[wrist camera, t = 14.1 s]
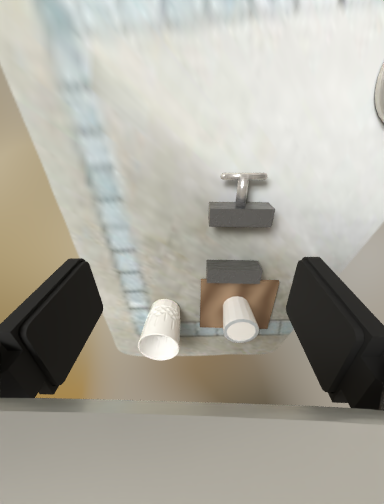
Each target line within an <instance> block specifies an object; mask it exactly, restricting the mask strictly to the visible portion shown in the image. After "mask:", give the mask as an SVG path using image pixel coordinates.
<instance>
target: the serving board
mask: <svg viewBox="0 0 384 504" xmlns="http://www.w3.org/2000/svg"><path fill="white" fill-rule="evenodd" d="M278 286H279V280H260V284H231V283H207V279H201V305H200V327H215V328H223V304H224V302H225V301H226V300H227V299H228V298H231V297H235V296H239V297H243V298H245V299H246V300H247V302H248V303H249V306H250V308H251V310H252V313H253V315H254V317H255V320H256V322H257V324H258V327H259V329H267V328H268V324H269V320H270V316H271V313H272V309H273V305H274V301H275V297H276V294H277V290H278Z"/></svg>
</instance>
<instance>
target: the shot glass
mask: <svg viewBox="0 0 384 504" xmlns="http://www.w3.org/2000/svg"><path fill="white" fill-rule="evenodd" d="M223 332H224V336H225V337H226V338H227V339H228V340H230V341H232V342H236V343H245V342H248V341H251V340H253V339H254V338H255V337H256V336H257V335H258V333H259V327H258V324H257V322H256V320H255V317H254V315H253V313H252V310H251V308H250V306H249V303H248V302H247V300H246V299H245V298H243V297H239V296H235V297H231V298H228V299H227V300H226V301H225V302H224V304H223Z"/></svg>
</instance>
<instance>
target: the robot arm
mask: <svg viewBox="0 0 384 504" xmlns="http://www.w3.org/2000/svg"><path fill="white" fill-rule="evenodd" d="M375 104H376V110H377V112H378V115H379V117H380V118H381V120H382V121H383V123H384V63H383V65H382V68H381V70H380V73H379V76H378V79H377V84H376V88H375ZM102 311H103V304H102V301H101V298H100V295H99V292H98V289H97V286H96V283H95V280H94V277H93V274H92V271H91V268H90V265H89V263H88V262H86V261H85V260H84V259H68V260H67V261H66V262H65V263H64V264H63V265H62V266H61V267H59V268H58V269H57V270H56V271H55V272H54V273H53V274H52V275H51V276H50V277H49V278H48V279H47V280H46V281H45V282H44V283H43V284H42V285H41V286H40V287H39V288H38V289H37V290H35V292H33V293H32V294H31V295H30V296H29V297H28V298H27V299H26V300H25V301H24V302H23V303H22V304H21V305H20V306H19V307H18V308H17V309H16V310H15V311H14V312H13V313H12V314H10V315H9V316H8V317H7V318H6V319H5V320H4V322H2V323H1V324H0V504H384V325H383V324H382V323H381V322H380V321H379V320H378V319H377V318H376V317H375V316H374V315H373V314H372V313H371V312H370V311H369V309H368V308H367V307H366V306H365V305H364V304H363V303H362V302H361V301H360V300H359V299H358V298H357V297H356V295H355V294H354V293H353V292H352V291H351V290H350V289H349V288H348V287H347V286H346V285H345V284H344V283H343V282H342V280H340V278H339V277H338V276H337V275H336V274H335V273H334V272H333V271H332V270H331V269H330V268H329V267H328V266H327V264H326V263H325V262H324V261H323V260H322V259H321V258H320V257H304V258H303V259H302V260H300V261H299V262H298V264H297V267H296V271H295V275H294V279H293V283H292V286H291V290H290V294H289V298H288V301H287V305H286V311H287V315H288V317H289V319H290V321H291V323H292V325H293V328H294V330H295V332H296V334H297V336H298V338H299V340H300V343H301V345H302V347H303V349H304V351H305V353H306V355H307V358H308V360H309V362H310V364H311V366H312V368H313V370H314V373H315V375H316V377H317V379H318V381H319V383H320V385H321V387H322V389H323V390H324V391H325V392H328V393H329V396H330V398H331V400H332V402H337V403H349V405H350V407H351V408H338V407H318V406H295V405H266V404H236V403H235V404H234V403H206V402H205V403H204V402H171V401H138V400H136V401H135V400H98V399H56V398H35V396H36V395H37V393H38V392H39V394H54V393H55V391H56V390H57V388H58V386H59V385H61V384H62V383H63V382H64V381H65V379H66V378H67V376H68V374H69V372H70V370H71V368H72V366H73V365H74V363H75V361H76V359H77V357H78V356H79V354H80V352H81V350H82V348H83V347H84V345H85V343H86V341H87V339H88V337H89V336H90V334H91V332H92V330H93V328H94V327H95V324H96V323H97V321H98V319H99V317H100V316H101V314H102Z"/></svg>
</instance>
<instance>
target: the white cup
mask: <svg viewBox="0 0 384 504" xmlns="http://www.w3.org/2000/svg"><path fill="white" fill-rule="evenodd" d="M179 342H180V307H179V306H178V304H177V303H176V302H174V301H173V300H169V299H159V300H157V301H155V302H154V303H153V305H152V306H151V309H150V312H149V314H148V317H147V319H146V322H145V325H144V328H143V331H142V333H141V336H140V339H139V342H138V349H139V351H140V352H141V353H142V354H143V355H144V356H146V357H148V358H151V359H154V360H168V359H171V358H173V357H175V356H176V355H177V354H178V352H179Z"/></svg>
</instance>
